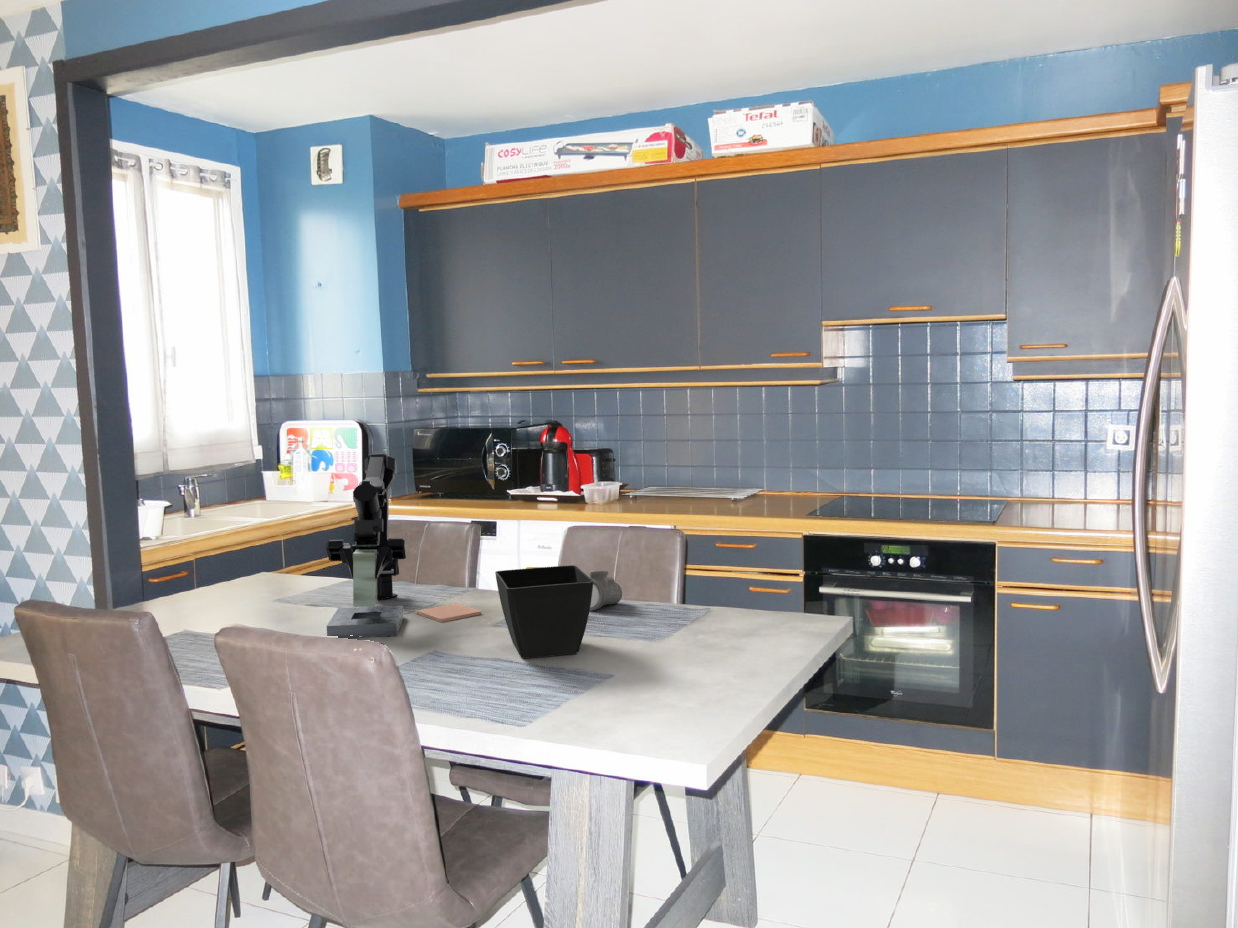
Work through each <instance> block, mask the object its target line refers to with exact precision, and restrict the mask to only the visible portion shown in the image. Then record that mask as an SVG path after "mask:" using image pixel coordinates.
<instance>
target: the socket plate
mask: <svg viewBox="0 0 1238 928" xmlns="http://www.w3.org/2000/svg"><path fill="white" fill-rule="evenodd" d="M403 620H404V605H389V606H388V605H387V606H386V605H385V606H375V607H338V608H337V609H336V611H335V613H334V614H333V615H332V618H331V619H330V621H329V622H328V623H327V625H326V637H327V636H338V637H348V638H347V639H349V638H351V639H352V638H360V637H359V636H362V637H361V638H372V637H373V638H374V637H375V638H376V637H396V636H398V634H399V632H400V628H401V626H402V622H403ZM350 635H353V636H350Z"/></svg>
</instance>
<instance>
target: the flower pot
mask: <svg viewBox="0 0 1238 928" xmlns="http://www.w3.org/2000/svg"><path fill="white" fill-rule="evenodd" d="M495 579H496V580H495V581H496V587H497V590H498V597H499V599H500V601H499V602H500V605H501V608H502V612H503V616H504V617H503V618H504V620H505V624H506V626H507V630H508V634H509V636H510V639H511V641H512V644H513V646H514V647H515V649H516V651H517V653H518V655H519V657H520V658H521V659H531V658H532V659H534V658H543V657H544V658H545V657H553V656H555V657H556V656H562V655H564V656H565V655H575V654H578V653H579V651H580V649H581V646H582V642H583V638H584V635H585V632H586V629H587V626H588V625H587V624H588V621H589V620H588V619H589V617H590V616H589V615H590V612H591V611H590V605H591V599H592V591H593V580H592V579H591V578H590V576H588V575H587V573H585V572H584V571H583V570H582V569H580V567H578V566H577V565H575V564H574V565H572V564H571V565H558V566H557V565H556V566H555V565H554V566H543V567H541V566H540V568H527V569H525V568H520V569H519V568H517V569H505V570H497V571H495Z"/></svg>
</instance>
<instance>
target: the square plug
mask: <svg viewBox="0 0 1238 928" xmlns="http://www.w3.org/2000/svg"><path fill="white" fill-rule="evenodd" d="M376 565H377V550H356V551H355V552H354V553H353V579H352V582H353V583H352V585H353V586H352V589H353V591H352V595H353V599H352V600H353V603H352V604H353V607H352V608H355V607H376V605H377V603H378V600H377V579H375V570H376Z"/></svg>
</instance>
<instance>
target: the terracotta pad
mask: <svg viewBox="0 0 1238 928" xmlns="http://www.w3.org/2000/svg"><path fill="white" fill-rule="evenodd" d="M415 612H416V613H415V614H417V615H420V616H421V617H422V616H423V617H425V618H427V619H428V618H429V619H431V620H434V621H436V622H439V623H445V622H450V621H454V620H459V619H464V618H470V617H474V616H479V615H482V610H480V609H479V610H478V609H475V608H472V607H469V606H466V605H464V604H460V603H452V604H445V605H441V606H435V607H430V608H429V607H428V608H424V609H417V610H416V611H415Z"/></svg>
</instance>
